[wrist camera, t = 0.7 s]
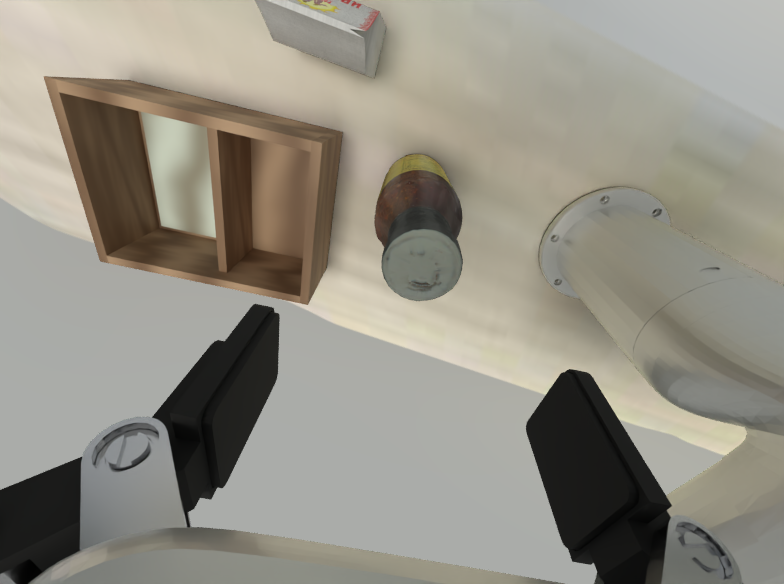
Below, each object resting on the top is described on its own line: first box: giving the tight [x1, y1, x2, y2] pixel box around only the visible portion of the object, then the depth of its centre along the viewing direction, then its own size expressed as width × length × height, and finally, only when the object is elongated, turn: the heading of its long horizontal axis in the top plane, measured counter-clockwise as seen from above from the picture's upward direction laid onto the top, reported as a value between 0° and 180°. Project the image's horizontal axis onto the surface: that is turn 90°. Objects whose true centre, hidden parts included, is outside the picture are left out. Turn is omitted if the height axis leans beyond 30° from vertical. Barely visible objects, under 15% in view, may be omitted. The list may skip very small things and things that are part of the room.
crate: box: [44, 76, 343, 305], centre depth 31 cm, size 20×15×8 cm
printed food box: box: [255, 0, 386, 78], centre depth 23 cm, size 4×7×10 cm, turn 72°
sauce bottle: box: [375, 154, 463, 301], centre depth 24 cm, size 6×6×20 cm
